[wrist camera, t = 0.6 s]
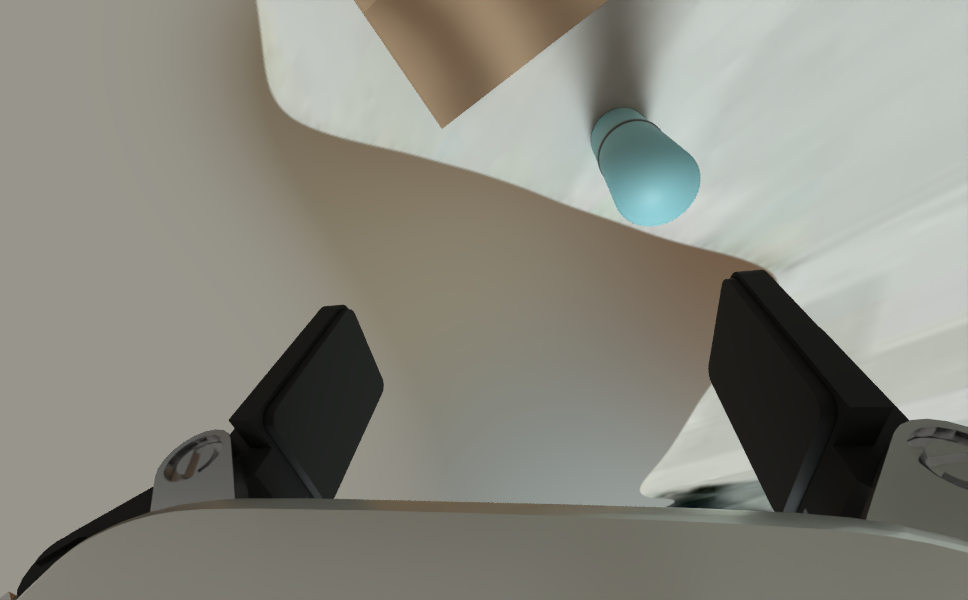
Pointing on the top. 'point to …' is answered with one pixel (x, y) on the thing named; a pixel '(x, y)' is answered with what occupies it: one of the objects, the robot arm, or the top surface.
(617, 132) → the peg
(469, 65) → the socket block
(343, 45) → the top surface
